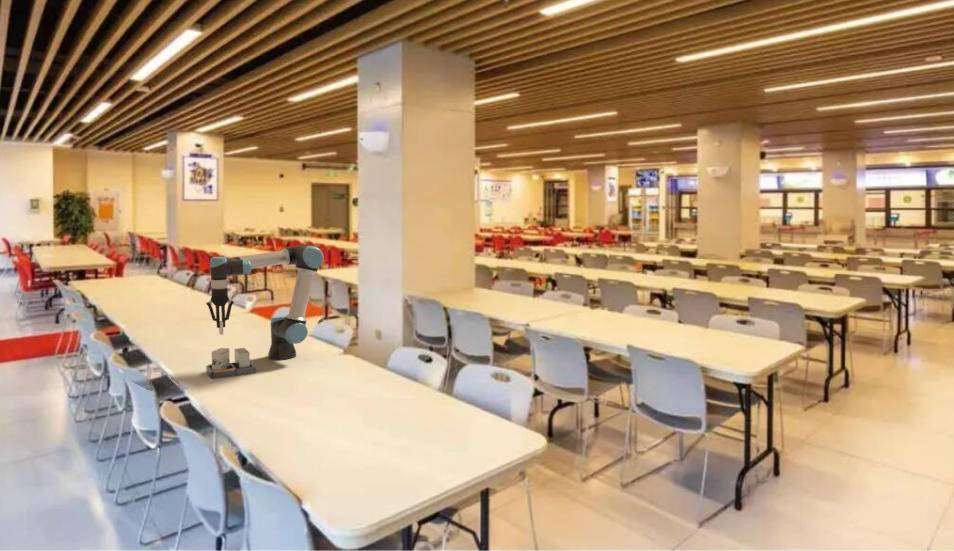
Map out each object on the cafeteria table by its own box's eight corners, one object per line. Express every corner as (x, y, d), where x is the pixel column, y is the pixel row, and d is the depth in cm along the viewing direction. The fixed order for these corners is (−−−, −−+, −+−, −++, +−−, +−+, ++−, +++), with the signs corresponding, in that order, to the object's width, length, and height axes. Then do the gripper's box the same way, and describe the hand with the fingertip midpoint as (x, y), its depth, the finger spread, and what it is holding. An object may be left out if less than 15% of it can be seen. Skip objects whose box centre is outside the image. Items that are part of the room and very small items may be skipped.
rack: (249, 366, 319) (248, 346, 318) (255, 373, 307) (255, 351, 306) (206, 371, 308) (205, 350, 306) (211, 379, 295) (210, 356, 294)
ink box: (221, 369, 309) (220, 347, 308) (230, 370, 308) (229, 348, 307) (211, 374, 301) (210, 351, 299) (220, 374, 300) (219, 351, 298)
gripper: (231, 286, 307) (233, 331, 310) (203, 287, 300) (206, 334, 303) (234, 287, 301) (236, 333, 304) (206, 289, 294) (208, 336, 296)
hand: (221, 334), depth 303 cm, fingers closed
